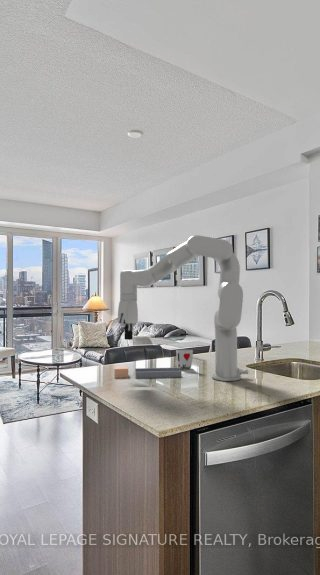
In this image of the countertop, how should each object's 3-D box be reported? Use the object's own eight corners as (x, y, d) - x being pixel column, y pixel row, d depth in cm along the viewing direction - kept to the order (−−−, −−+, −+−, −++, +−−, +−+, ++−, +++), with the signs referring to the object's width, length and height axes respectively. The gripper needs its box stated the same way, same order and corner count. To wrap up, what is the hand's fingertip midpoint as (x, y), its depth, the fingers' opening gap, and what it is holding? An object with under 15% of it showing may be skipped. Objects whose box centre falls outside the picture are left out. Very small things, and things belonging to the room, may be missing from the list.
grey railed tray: (179, 375, 173) (178, 367, 173) (181, 379, 164) (181, 371, 164) (135, 376, 171) (135, 368, 171) (135, 380, 162) (135, 372, 163)
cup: (174, 372, 180) (174, 351, 180) (178, 369, 188) (178, 349, 188) (191, 373, 177) (190, 352, 178) (194, 370, 185) (194, 349, 185)
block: (128, 366, 169) (114, 367, 169) (128, 368, 164) (114, 369, 164) (128, 377, 169) (115, 378, 169) (128, 380, 164) (114, 380, 164)
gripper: (130, 298, 176) (130, 337, 175) (111, 298, 163) (111, 340, 162) (144, 298, 172) (144, 338, 172) (126, 298, 159) (126, 341, 159)
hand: (128, 339), depth 167 cm, fingers closed
